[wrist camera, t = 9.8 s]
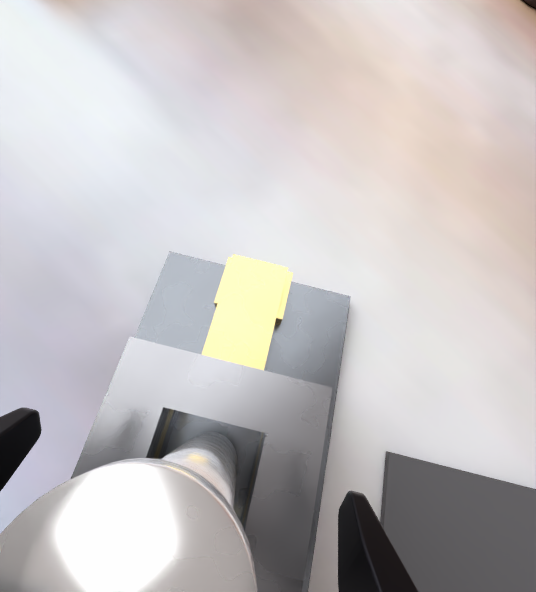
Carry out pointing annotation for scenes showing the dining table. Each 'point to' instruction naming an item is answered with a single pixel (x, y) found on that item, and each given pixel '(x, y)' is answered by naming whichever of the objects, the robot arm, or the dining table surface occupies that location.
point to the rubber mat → (459, 528)
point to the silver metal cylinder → (136, 528)
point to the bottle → (531, 2)
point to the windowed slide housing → (235, 395)
